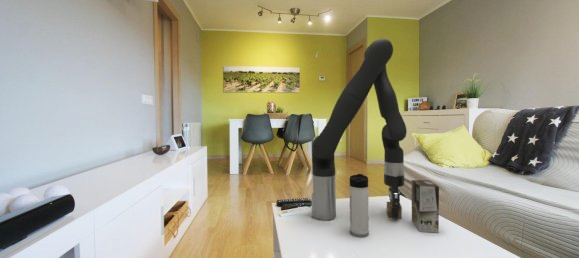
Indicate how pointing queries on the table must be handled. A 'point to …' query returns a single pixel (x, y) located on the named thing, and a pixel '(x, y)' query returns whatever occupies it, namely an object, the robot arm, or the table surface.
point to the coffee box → (425, 205)
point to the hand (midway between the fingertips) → (394, 213)
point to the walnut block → (389, 210)
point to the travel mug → (359, 205)
